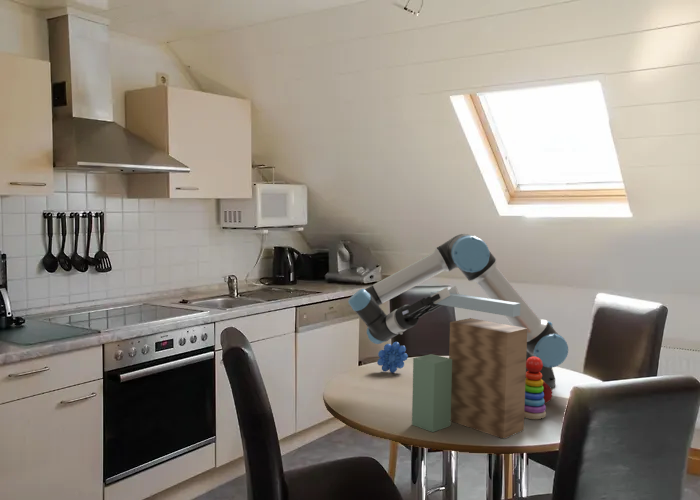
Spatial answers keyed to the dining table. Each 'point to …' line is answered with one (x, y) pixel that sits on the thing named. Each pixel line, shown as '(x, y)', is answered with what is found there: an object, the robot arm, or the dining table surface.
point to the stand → (488, 376)
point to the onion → (547, 392)
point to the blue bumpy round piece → (392, 357)
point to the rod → (481, 304)
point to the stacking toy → (534, 390)
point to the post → (432, 392)
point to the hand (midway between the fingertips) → (452, 291)
